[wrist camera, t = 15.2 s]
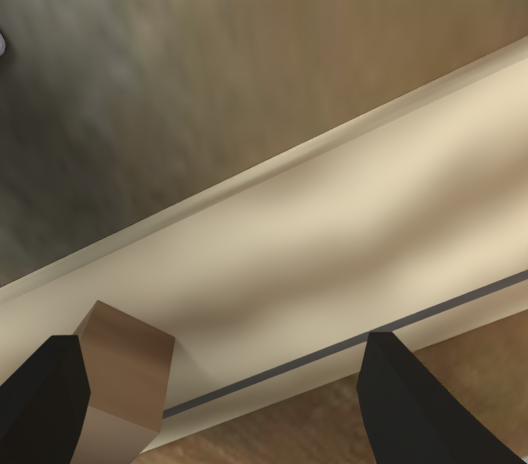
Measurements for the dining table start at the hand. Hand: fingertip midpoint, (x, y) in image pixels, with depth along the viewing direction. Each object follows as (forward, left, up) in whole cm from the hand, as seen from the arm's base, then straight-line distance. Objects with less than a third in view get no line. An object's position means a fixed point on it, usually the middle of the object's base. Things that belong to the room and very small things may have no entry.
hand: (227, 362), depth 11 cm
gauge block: (+4, -9, -7) cm, 12 cm away
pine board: (+5, 0, -9) cm, 11 cm away
